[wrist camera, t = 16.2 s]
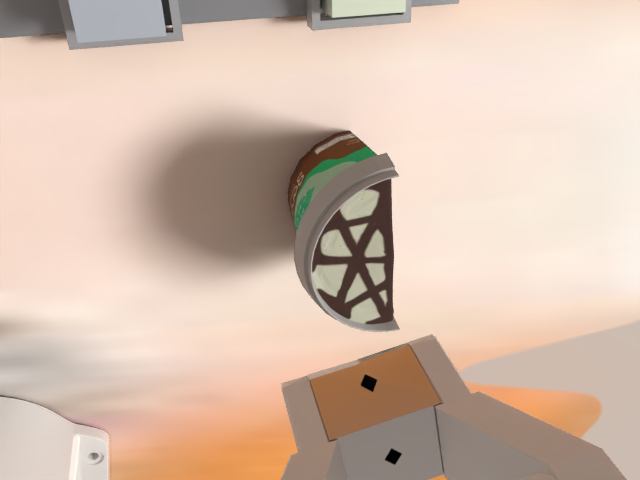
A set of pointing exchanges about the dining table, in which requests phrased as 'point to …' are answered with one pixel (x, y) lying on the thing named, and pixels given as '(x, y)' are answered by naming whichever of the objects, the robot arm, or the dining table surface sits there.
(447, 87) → the dining table surface
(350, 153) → the food container
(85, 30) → the slate key
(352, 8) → the sage key
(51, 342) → the dining table surface
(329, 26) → the keypad base
